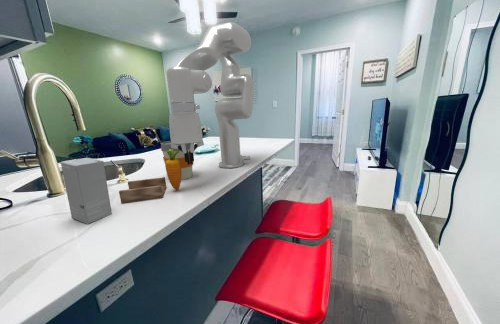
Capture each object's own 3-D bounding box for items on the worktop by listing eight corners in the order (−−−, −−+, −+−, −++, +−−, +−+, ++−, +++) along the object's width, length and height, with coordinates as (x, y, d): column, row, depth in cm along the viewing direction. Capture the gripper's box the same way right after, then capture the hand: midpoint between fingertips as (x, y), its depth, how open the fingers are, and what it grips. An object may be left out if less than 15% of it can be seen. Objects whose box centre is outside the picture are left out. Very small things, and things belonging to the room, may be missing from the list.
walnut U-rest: (166, 187, 76) (164, 177, 75) (162, 197, 67) (160, 186, 66) (130, 192, 73) (128, 181, 72) (121, 203, 64) (118, 191, 63)
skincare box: (71, 218, 56) (54, 162, 52) (99, 207, 62) (87, 156, 58) (87, 225, 52) (71, 165, 48) (116, 212, 58) (103, 158, 54)
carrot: (176, 187, 76) (170, 147, 72) (187, 188, 74) (181, 147, 70) (166, 192, 71) (159, 149, 67) (177, 194, 69) (171, 150, 66)
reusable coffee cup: (166, 174, 92) (161, 141, 88) (195, 171, 96) (192, 138, 92) (164, 183, 80) (158, 145, 77) (197, 179, 84) (193, 142, 80)
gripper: (206, 108, 72) (210, 159, 77) (160, 110, 69) (168, 163, 73) (207, 107, 65) (212, 163, 70) (156, 109, 62) (165, 169, 66)
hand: (190, 163), depth 71 cm, fingers closed
